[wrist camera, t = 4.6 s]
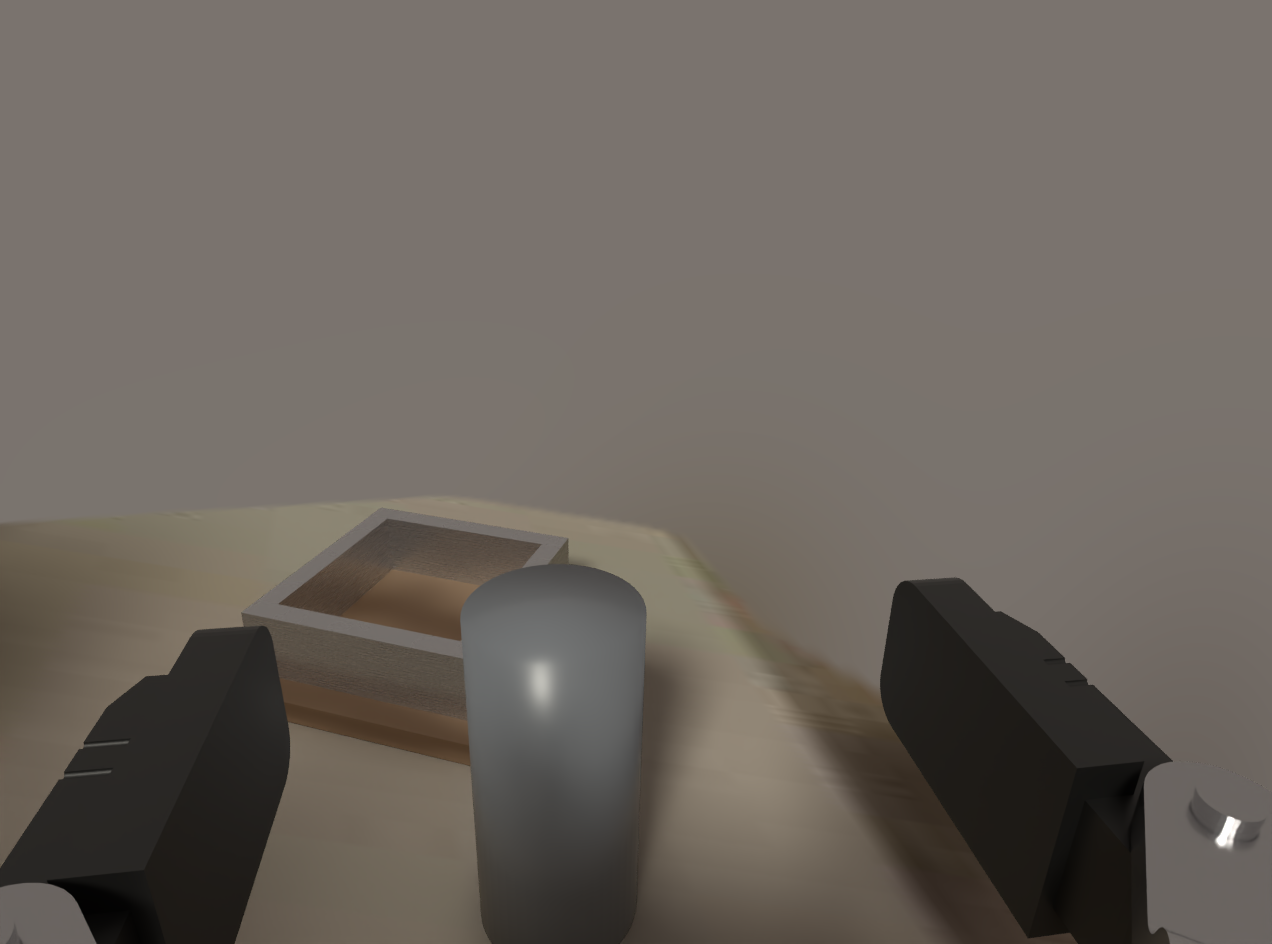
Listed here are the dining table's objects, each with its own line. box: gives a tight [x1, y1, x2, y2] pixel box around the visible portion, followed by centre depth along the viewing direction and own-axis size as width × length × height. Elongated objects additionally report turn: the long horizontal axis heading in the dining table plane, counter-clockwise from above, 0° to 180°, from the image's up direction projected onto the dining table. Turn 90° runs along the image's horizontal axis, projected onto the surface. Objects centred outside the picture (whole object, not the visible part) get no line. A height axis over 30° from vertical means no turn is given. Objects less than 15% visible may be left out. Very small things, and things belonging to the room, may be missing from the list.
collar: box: [241, 508, 569, 721], centre depth 38 cm, size 10×10×3 cm
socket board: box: [280, 570, 480, 766], centre depth 39 cm, size 13×13×1 cm
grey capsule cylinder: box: [460, 564, 646, 944], centre depth 25 cm, size 5×5×11 cm
